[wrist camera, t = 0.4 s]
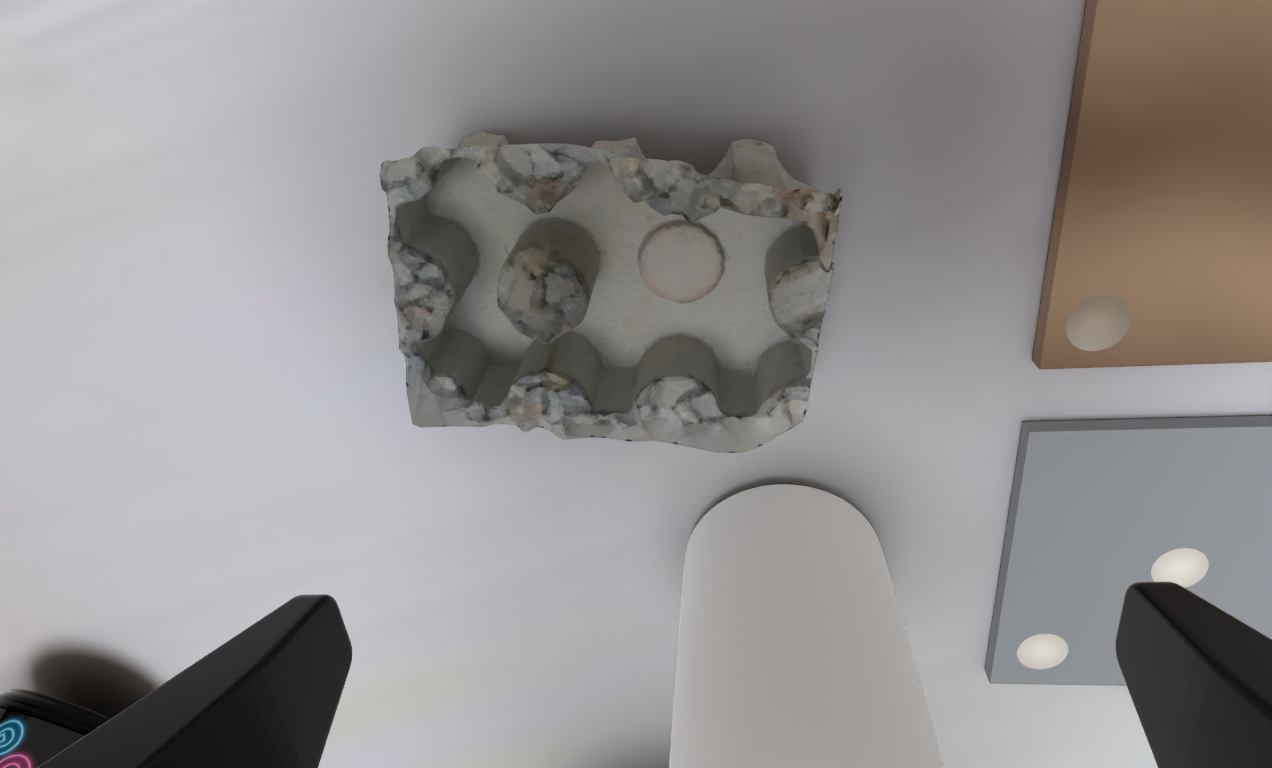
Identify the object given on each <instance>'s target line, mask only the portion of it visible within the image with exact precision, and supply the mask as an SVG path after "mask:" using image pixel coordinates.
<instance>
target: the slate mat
mask: <svg viewBox="0 0 1272 768" xmlns="http://www.w3.org/2000/svg"><path fill="white" fill-rule="evenodd" d="M1136 582H1173V583H1176V584H1178V585H1180V586H1182V587H1184V588H1186V589H1187V590H1189V591H1191V592H1192V593H1194V594H1196V595H1197V596H1199V597H1201V598H1203V599H1204V600H1206V601H1208V602H1209V603H1211V604H1213V605H1214V606H1216V607H1218V608H1219V609H1221V610H1223V611H1225V612H1226V613H1228V614H1230V615H1231V616H1233V617H1235V618H1236V619H1238V620H1240V621H1241V622H1243V623H1245V624H1247V625H1248V626H1250V627H1252V628H1253V629H1255V630H1257V631H1258V632H1260V633H1262V634H1263V635H1265V636H1267V637H1269V638H1270V639H1272V416H1233V417H1192V418H1152V419H1112V420H1071V421H1031V422H1022V429H1021V435H1020V442H1019V449H1018V455H1017V462H1016V468H1015V475H1014V481H1013V488H1012V495H1011V501H1010V508H1009V514H1008V521H1007V527H1006V534H1005V541H1004V547H1003V554H1002V560H1001V567H1000V573H999V580H998V587H997V593H996V600H995V606H994V613H993V619H992V626H991V633H990V639H989V646H988V652H987V659H986V665H985V672H986V674H987V677H988V680H989V682H990V683H996V684H1055V685H1115V686H1127V685H1126V682H1125V679H1124V677H1123V674H1122V672H1121V669H1120V666H1119V663H1118V660H1117V656H1116V648H1115V642H1116V636H1117V631H1118V626H1119V621H1120V616H1121V612H1122V607H1123V602H1124V597H1125V594H1126V591H1127V589H1128V587H1129V586H1130V585H1131V584H1133V583H1136Z"/></svg>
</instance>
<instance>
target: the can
mask: <svg viewBox="0 0 1272 768" xmlns="http://www.w3.org/2000/svg"><path fill="white" fill-rule="evenodd" d="M669 768H944V767H943V763H942V760H941V756H940V752H939V749H938V745H937V742H936V738H935V734H934V731H933V727H932V723H931V720H930V716H929V713H928V709H927V705H926V702H925V698H924V695H923V691H922V687H921V684H920V680H919V677H918V673H917V670H916V666H915V662H914V659H913V655H912V652H911V648H910V645H909V641H908V637H907V634H906V630H905V627H904V623H903V620H902V616H901V613H900V609H899V606H898V602H897V599H896V595H895V592H894V588H893V585H892V581H891V578H890V574H889V571H888V567H887V564H886V561H885V557H884V554H883V551H882V548H881V545H880V542H879V539H878V537H877V535H876V533H875V531H874V529H873V527H872V526H871V524H870V523H869V522H868V520H867V519H866V518H865V517H864V516H863V515H862V514H861V513H860V512H859V511H858V510H857V509H856V508H854V507H853V506H852V505H850V504H849V503H848V502H846V501H844V500H843V499H841V498H839V497H837V496H835V495H833V494H831V493H828V492H825V491H823V490H819V489H816V488H812V487H807V486H801V485H791V484H777V485H766V486H760V487H756V488H752V489H748V490H745V491H742V492H739V493H737V494H735V495H732V496H730V497H728V498H727V499H725V500H723V501H722V502H720V503H719V504H717V505H716V506H714V507H713V508H712V509H711V510H710V511H708V512H707V513H706V514H705V515H704V516H703V518H702V519H701V520H700V521H699V523H698V524H697V525H696V527H695V528H694V530H693V532H692V534H691V536H690V539H689V541H688V545H687V549H686V554H685V561H684V571H683V583H682V595H681V608H680V621H679V635H678V648H677V662H676V675H675V689H674V703H673V717H672V731H671V746H670V761H669Z"/></svg>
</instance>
